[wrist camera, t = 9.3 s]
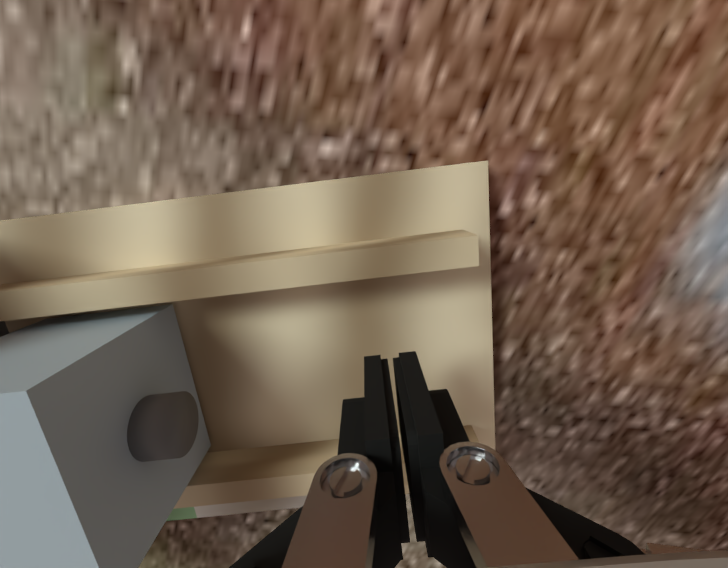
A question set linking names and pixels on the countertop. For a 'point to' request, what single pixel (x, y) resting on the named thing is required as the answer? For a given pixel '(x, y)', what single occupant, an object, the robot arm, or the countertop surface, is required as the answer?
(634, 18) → the countertop surface
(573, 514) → the robot arm
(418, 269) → the board
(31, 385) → the grey cube with peg
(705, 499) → the countertop surface
